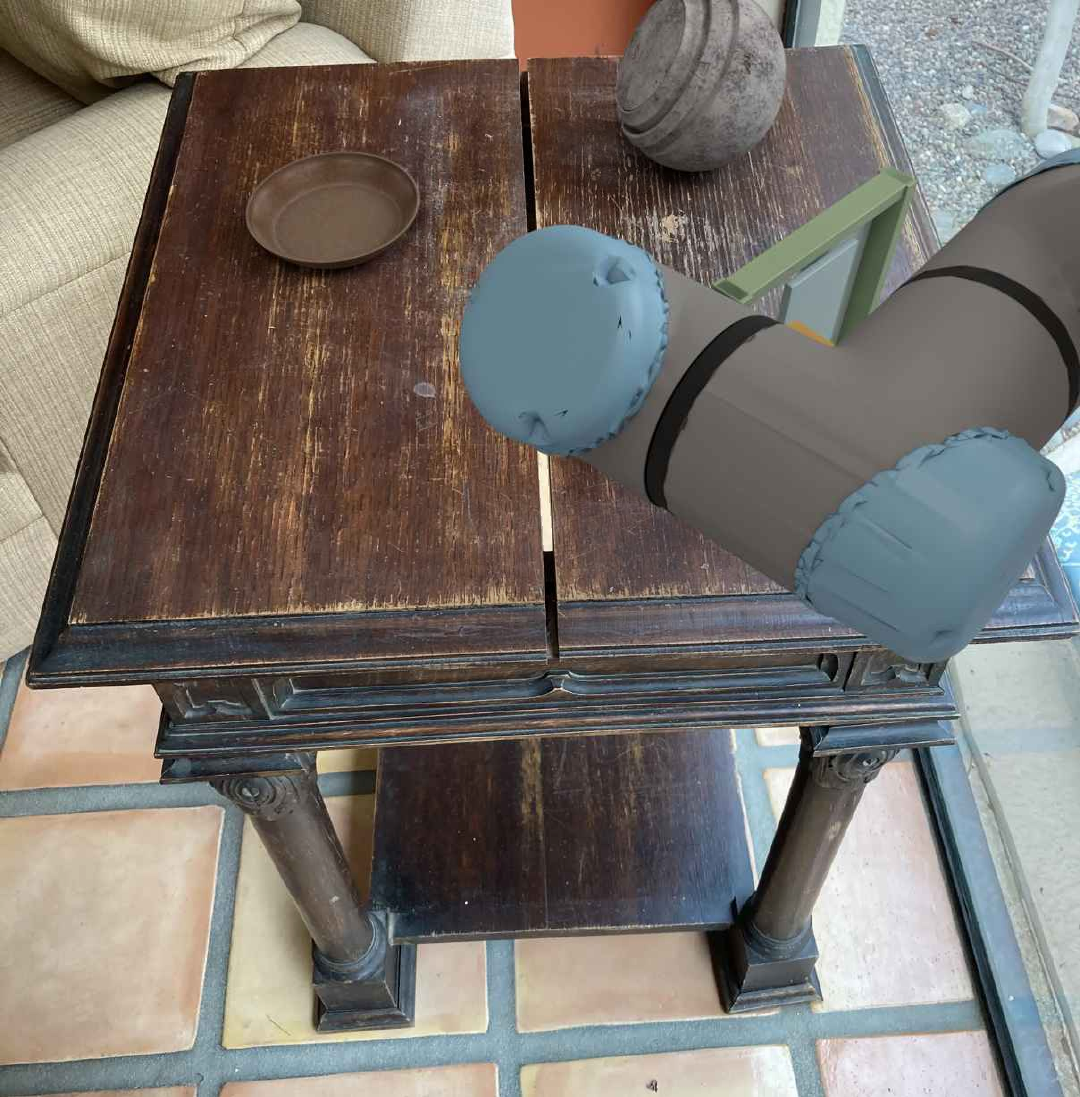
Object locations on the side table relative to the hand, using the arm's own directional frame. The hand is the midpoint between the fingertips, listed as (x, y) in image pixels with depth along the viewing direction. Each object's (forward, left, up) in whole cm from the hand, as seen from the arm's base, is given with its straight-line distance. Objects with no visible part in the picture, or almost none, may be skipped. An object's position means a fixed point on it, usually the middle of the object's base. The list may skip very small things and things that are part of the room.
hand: (858, 444), depth 67 cm
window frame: (+9, -4, -7) cm, 12 cm away
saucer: (+49, +7, -7) cm, 50 cm away
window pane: (+3, -4, -5) cm, 7 cm away
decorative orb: (+35, -23, -7) cm, 42 cm away
